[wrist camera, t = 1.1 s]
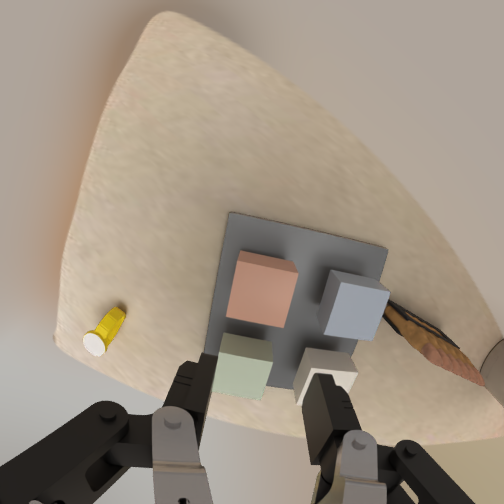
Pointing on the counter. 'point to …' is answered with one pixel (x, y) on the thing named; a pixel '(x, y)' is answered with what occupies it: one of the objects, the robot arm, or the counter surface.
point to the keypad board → (305, 293)
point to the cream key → (323, 370)
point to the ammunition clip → (431, 342)
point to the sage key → (243, 366)
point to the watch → (104, 332)
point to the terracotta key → (262, 289)
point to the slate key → (352, 306)
